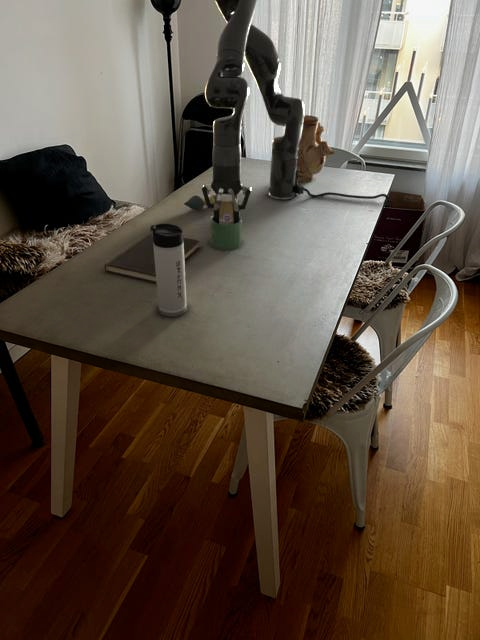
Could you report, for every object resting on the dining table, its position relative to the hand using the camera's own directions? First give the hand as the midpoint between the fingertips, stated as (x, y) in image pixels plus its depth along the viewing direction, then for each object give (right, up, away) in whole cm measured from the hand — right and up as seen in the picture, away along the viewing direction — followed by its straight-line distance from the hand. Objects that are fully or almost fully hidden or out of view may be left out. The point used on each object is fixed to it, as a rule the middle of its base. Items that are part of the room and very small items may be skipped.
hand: (226, 222), depth 133 cm
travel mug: (-12, -26, -27) cm, 39 cm away
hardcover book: (-19, -12, -6) cm, 23 cm away
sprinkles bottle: (0, -4, +3) cm, 5 cm away
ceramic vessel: (+31, +30, +58) cm, 72 cm away
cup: (0, -6, +4) cm, 7 cm away
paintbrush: (-7, +11, +29) cm, 31 cm away
